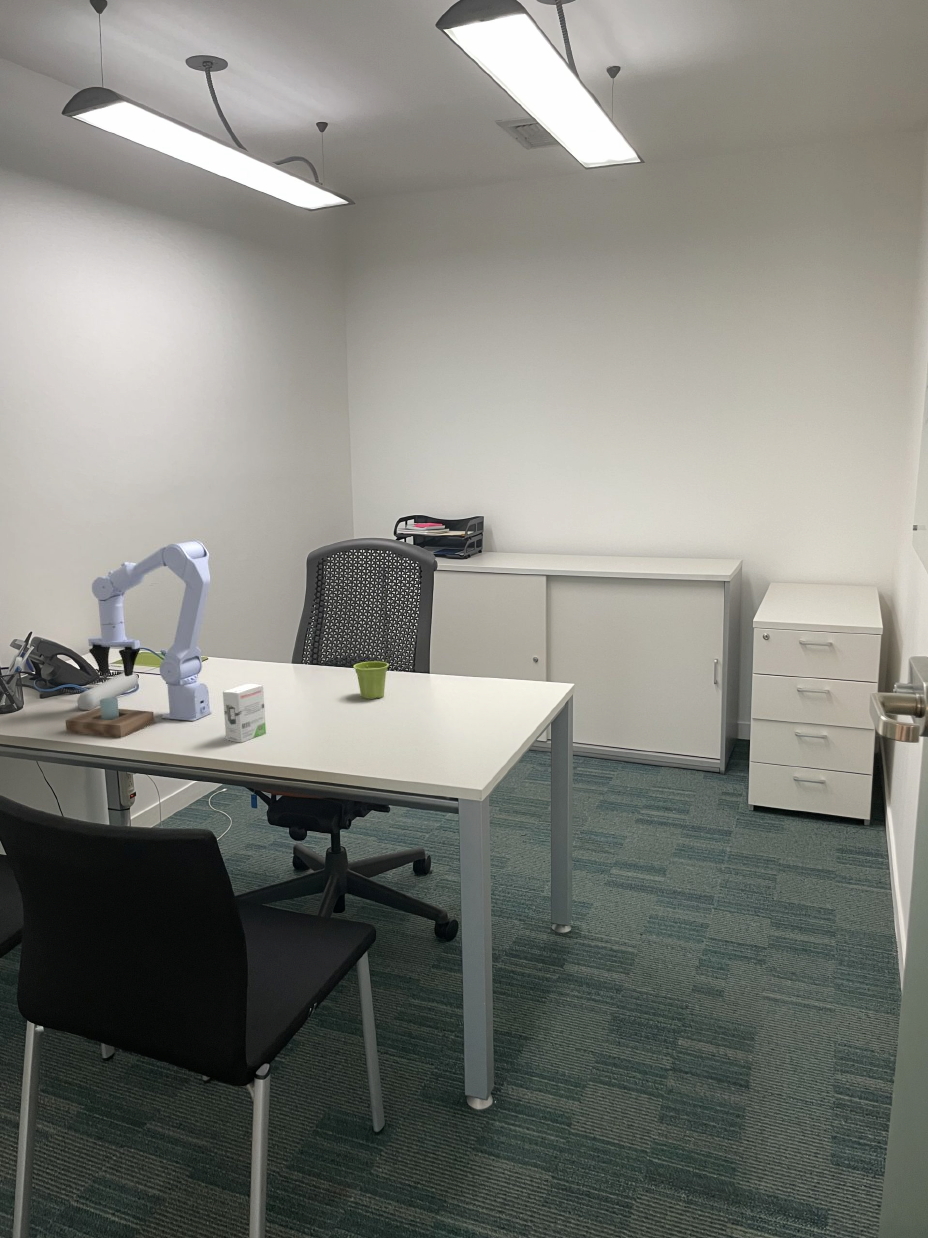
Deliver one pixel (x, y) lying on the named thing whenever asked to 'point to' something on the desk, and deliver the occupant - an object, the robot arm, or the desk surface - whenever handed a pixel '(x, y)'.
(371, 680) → the plant pot
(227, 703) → the ink box
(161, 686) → the desk surface
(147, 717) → the socket board
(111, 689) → the tube
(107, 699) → the peg
